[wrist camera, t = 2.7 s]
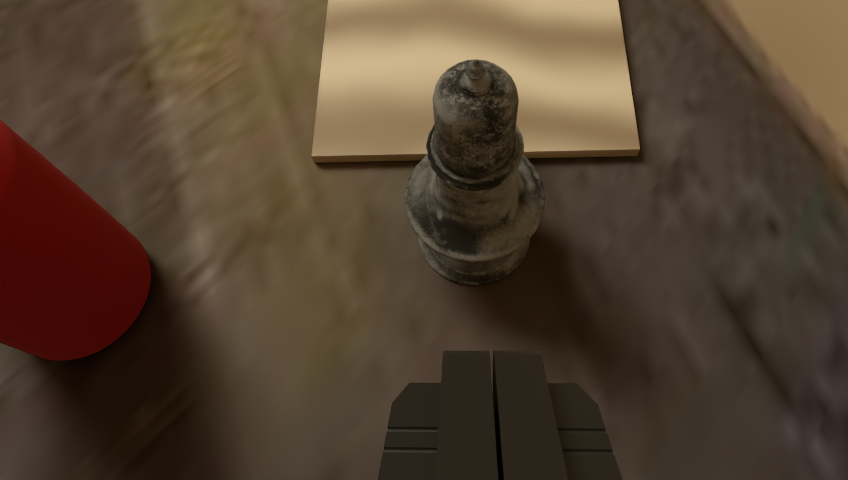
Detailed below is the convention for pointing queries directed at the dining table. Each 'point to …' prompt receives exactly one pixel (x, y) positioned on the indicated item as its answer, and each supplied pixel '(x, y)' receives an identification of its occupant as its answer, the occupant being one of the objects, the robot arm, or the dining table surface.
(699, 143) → the dining table surface
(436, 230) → the grey chess piece
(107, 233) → the beverage can
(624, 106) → the birch board
